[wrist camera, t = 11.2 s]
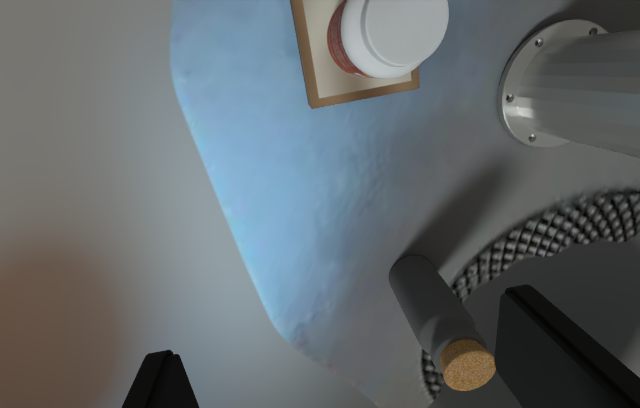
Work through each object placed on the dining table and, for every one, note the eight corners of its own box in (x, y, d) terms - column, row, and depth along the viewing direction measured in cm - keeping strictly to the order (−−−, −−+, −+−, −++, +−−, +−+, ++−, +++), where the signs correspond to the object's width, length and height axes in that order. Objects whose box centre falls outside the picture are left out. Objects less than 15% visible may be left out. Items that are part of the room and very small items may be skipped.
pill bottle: (342, 89, 30) (374, 99, 19) (313, 16, 27) (332, -16, 17) (407, 58, 29) (475, 52, 19) (383, -19, 27) (446, -73, 17)
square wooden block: (396, -30, 30) (413, -44, 26) (404, 86, 34) (420, 88, 30) (288, -10, 30) (288, -22, 26) (308, 104, 34) (312, 109, 30)
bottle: (430, 291, 44) (497, 391, 31) (387, 295, 44) (435, 399, 30) (434, 252, 42) (508, 342, 28) (389, 256, 42) (441, 350, 28)
